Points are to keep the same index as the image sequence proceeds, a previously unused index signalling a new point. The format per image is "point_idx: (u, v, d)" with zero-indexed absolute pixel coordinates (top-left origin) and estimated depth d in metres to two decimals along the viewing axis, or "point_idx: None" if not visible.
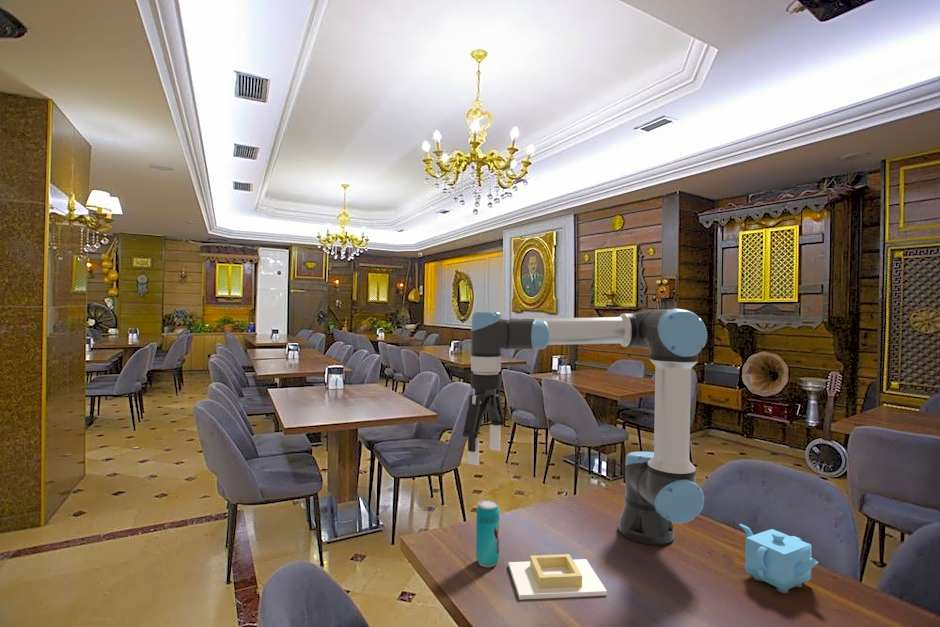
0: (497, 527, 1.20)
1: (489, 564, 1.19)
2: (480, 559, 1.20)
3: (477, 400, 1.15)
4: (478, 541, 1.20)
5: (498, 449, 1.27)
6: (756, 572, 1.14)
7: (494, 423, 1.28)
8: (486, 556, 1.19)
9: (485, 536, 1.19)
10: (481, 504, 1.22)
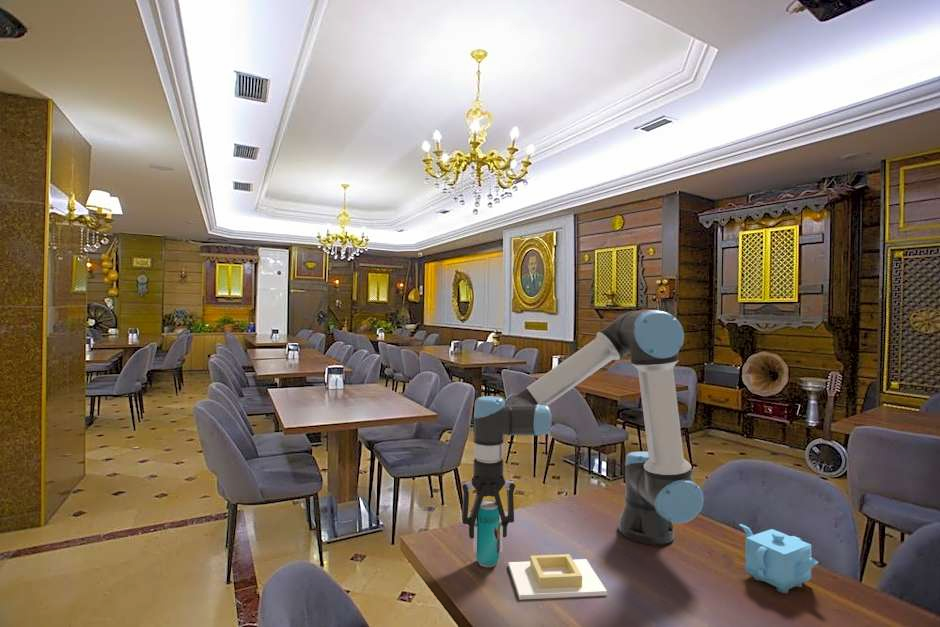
0: (497, 527, 1.20)
1: (488, 564, 1.19)
2: (480, 559, 1.20)
3: None
4: (478, 541, 1.20)
5: (499, 550, 1.21)
6: (756, 572, 1.14)
7: (501, 520, 1.23)
8: (486, 556, 1.19)
9: (485, 536, 1.19)
10: (481, 504, 1.22)
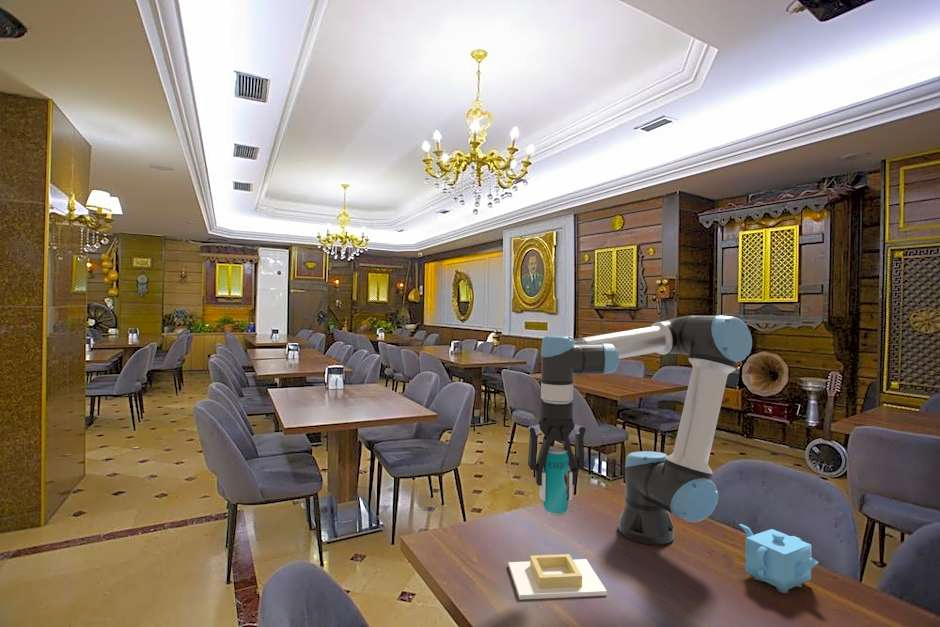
0: (567, 473, 1.12)
1: (558, 512, 1.12)
2: (549, 507, 1.12)
3: (530, 433, 1.13)
4: (546, 488, 1.13)
5: (569, 498, 1.13)
6: (756, 572, 1.14)
7: None
8: (555, 503, 1.11)
9: (554, 482, 1.12)
10: (549, 449, 1.14)
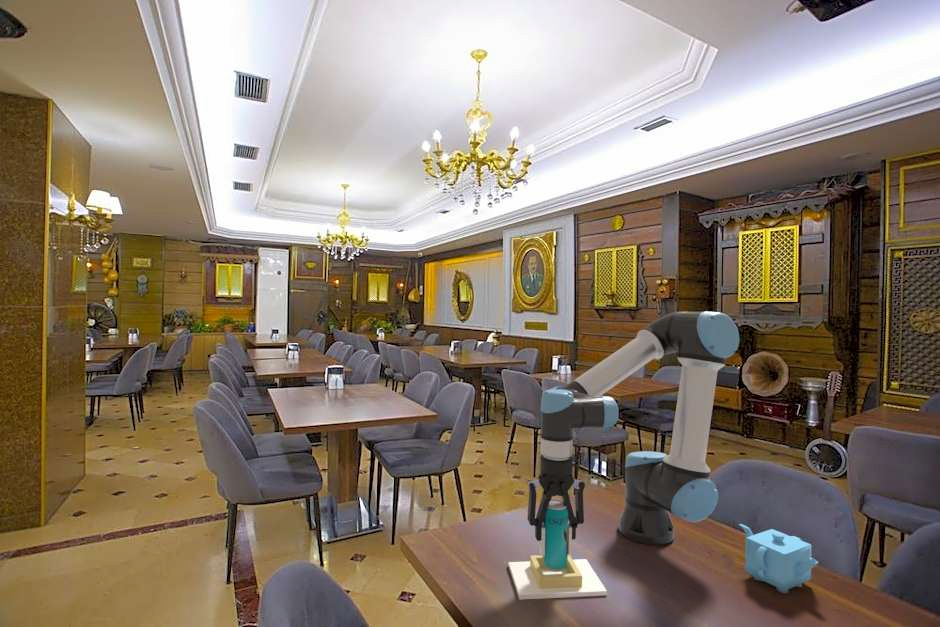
0: (566, 529, 1.13)
1: (558, 568, 1.12)
2: (548, 563, 1.12)
3: (529, 488, 1.13)
4: (546, 544, 1.13)
5: (568, 553, 1.14)
6: (756, 572, 1.14)
7: (569, 521, 1.15)
8: (555, 560, 1.12)
9: (554, 538, 1.12)
10: None
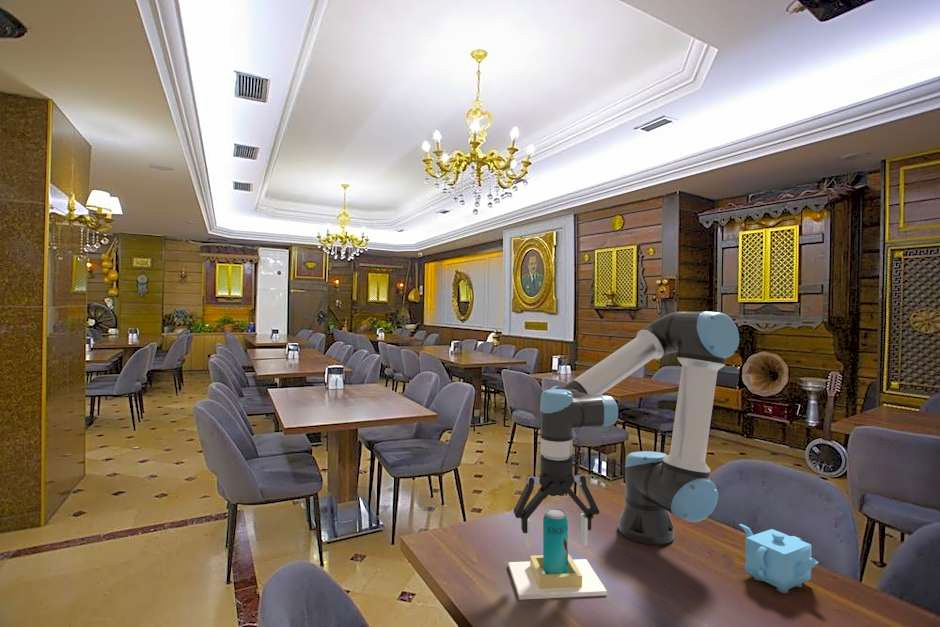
0: (566, 538, 1.13)
1: None
2: (549, 572, 1.12)
3: (528, 482, 1.13)
4: (546, 553, 1.13)
5: (584, 544, 1.14)
6: (756, 572, 1.14)
7: (585, 513, 1.16)
8: (555, 569, 1.12)
9: (554, 548, 1.12)
10: (548, 513, 1.14)
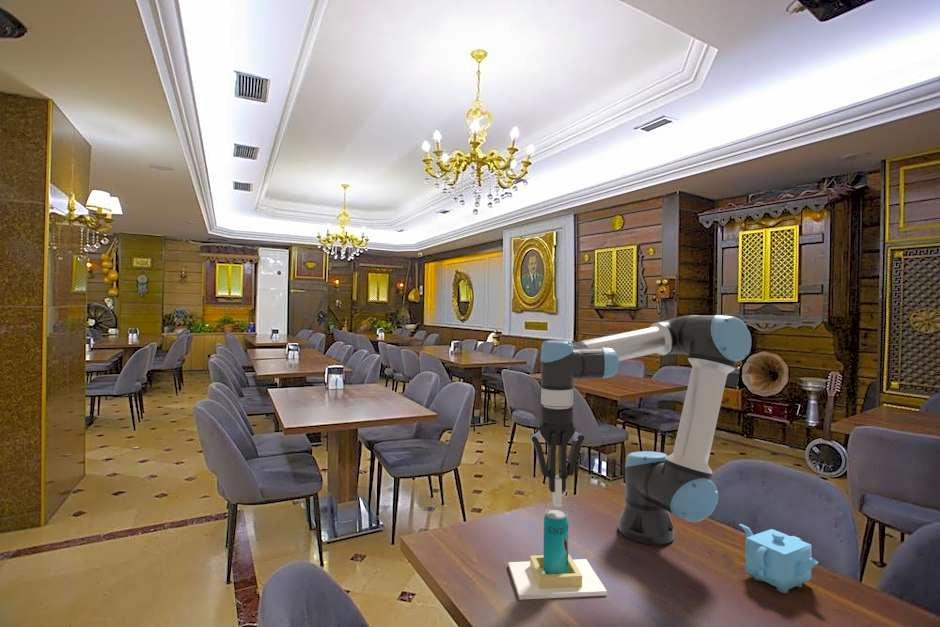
0: (566, 538, 1.13)
1: None
2: (549, 572, 1.12)
3: (533, 442, 1.13)
4: (546, 553, 1.13)
5: (558, 505, 1.13)
6: (756, 572, 1.14)
7: (559, 473, 1.15)
8: (555, 569, 1.12)
9: (554, 548, 1.12)
10: (549, 513, 1.14)
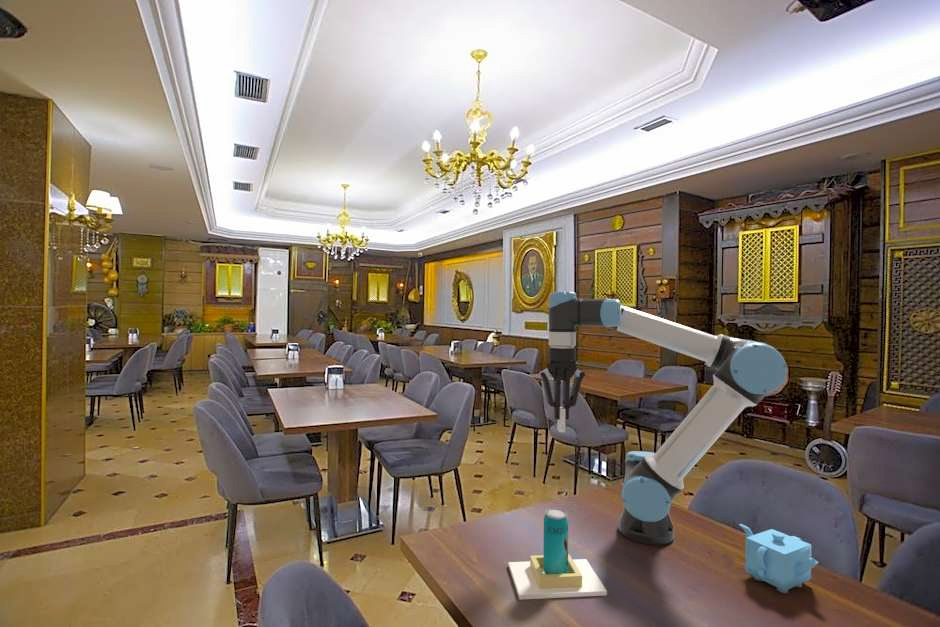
0: (566, 538, 1.13)
1: None
2: (549, 572, 1.12)
3: (541, 377, 1.33)
4: (546, 553, 1.13)
5: (562, 430, 1.34)
6: (756, 572, 1.14)
7: (563, 404, 1.35)
8: (555, 569, 1.12)
9: (554, 548, 1.12)
10: (549, 513, 1.14)
